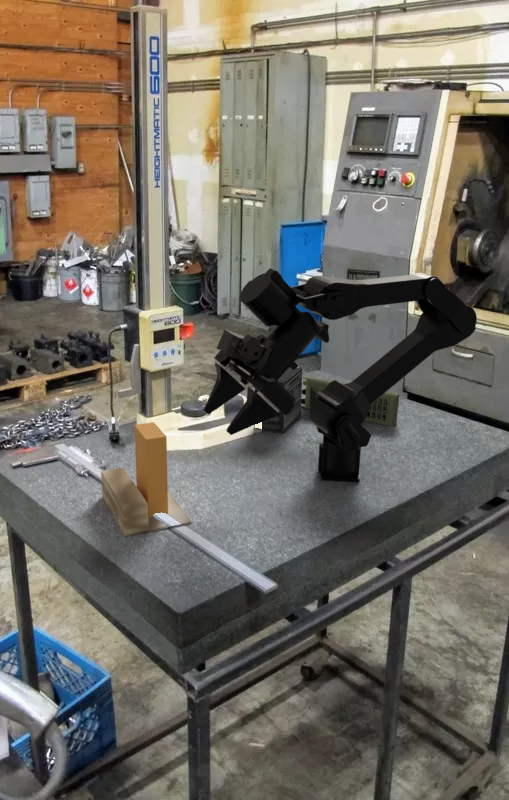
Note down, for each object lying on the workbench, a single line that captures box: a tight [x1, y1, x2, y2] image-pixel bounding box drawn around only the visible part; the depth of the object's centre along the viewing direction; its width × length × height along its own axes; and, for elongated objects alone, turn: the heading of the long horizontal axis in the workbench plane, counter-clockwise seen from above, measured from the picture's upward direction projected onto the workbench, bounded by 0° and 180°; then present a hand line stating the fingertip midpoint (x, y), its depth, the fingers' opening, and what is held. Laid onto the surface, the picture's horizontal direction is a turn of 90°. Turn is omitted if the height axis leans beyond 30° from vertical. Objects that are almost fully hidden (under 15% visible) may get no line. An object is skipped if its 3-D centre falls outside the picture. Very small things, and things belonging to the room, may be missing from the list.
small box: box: [254, 365, 303, 434], centre depth 149 cm, size 11×6×10 cm, turn 157°
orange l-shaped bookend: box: [133, 421, 169, 517], centre depth 113 cm, size 6×6×12 cm
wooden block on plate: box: [100, 467, 193, 537], centre depth 115 cm, size 10×13×4 cm
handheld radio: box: [301, 375, 400, 427], centre depth 155 cm, size 7×3×25 cm
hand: (216, 422), depth 116 cm, fingers open, 9 cm apart
